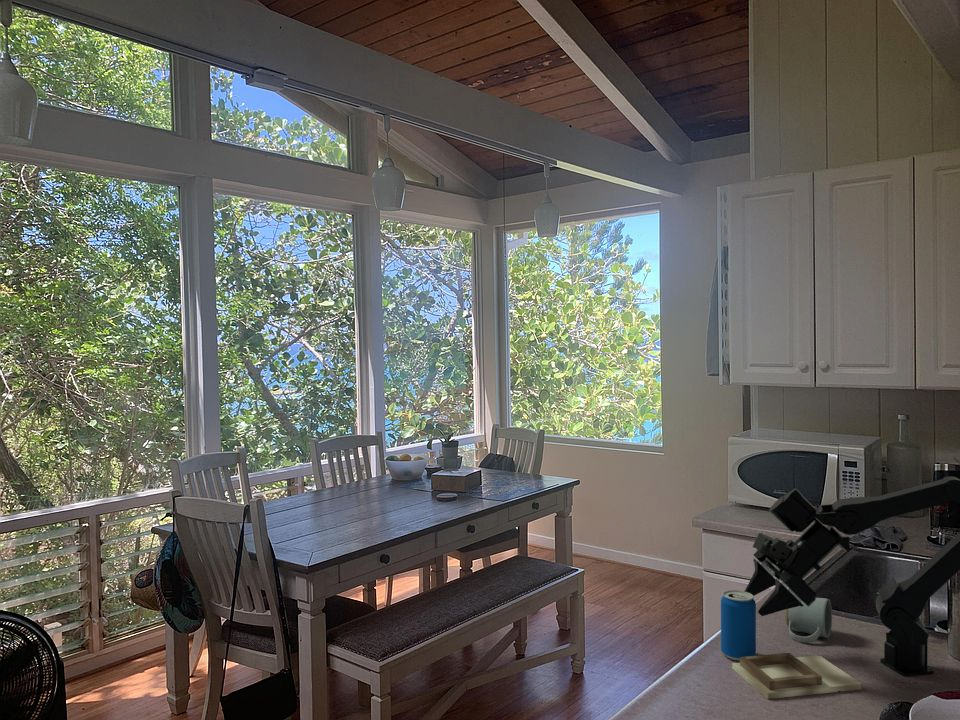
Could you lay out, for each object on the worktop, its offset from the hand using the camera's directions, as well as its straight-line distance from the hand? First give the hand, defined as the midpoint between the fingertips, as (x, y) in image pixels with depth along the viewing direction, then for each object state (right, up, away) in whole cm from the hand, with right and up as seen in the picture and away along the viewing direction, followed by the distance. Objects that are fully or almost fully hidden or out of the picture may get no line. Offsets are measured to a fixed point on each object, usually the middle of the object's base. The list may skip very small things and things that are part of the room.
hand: (751, 605), depth 144 cm
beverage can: (-3, -10, 0) cm, 10 cm away
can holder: (+4, -10, -10) cm, 15 cm away
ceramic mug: (+16, -10, +10) cm, 21 cm away
